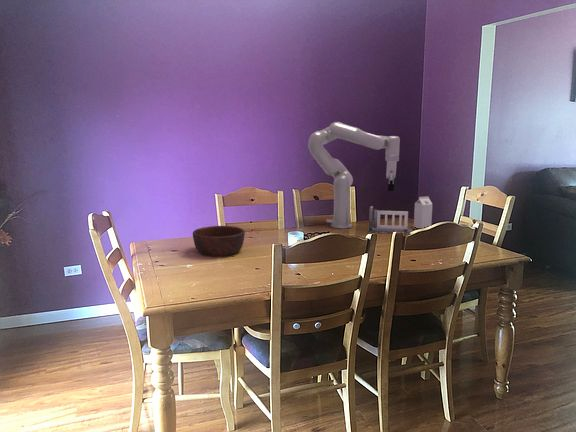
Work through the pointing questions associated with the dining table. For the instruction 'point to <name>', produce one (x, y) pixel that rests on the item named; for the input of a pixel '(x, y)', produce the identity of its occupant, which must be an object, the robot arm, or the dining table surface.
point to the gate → (393, 213)
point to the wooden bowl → (218, 240)
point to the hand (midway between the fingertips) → (390, 189)
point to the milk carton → (423, 212)
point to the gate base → (373, 230)
